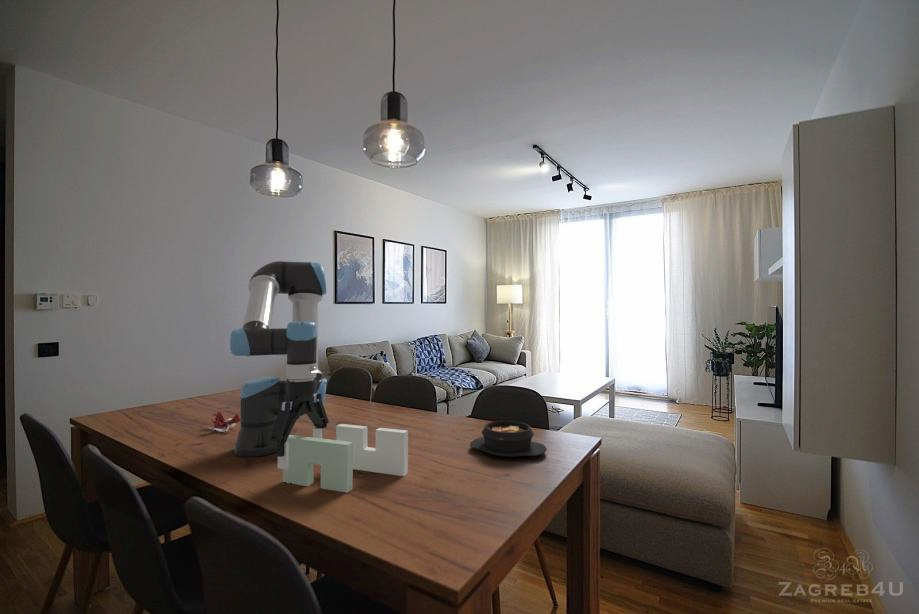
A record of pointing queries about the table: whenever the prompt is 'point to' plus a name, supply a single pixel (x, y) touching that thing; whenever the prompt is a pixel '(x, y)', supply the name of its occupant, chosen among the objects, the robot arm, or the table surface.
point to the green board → (320, 462)
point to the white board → (377, 449)
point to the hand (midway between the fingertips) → (301, 459)
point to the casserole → (508, 440)
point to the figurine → (223, 422)
